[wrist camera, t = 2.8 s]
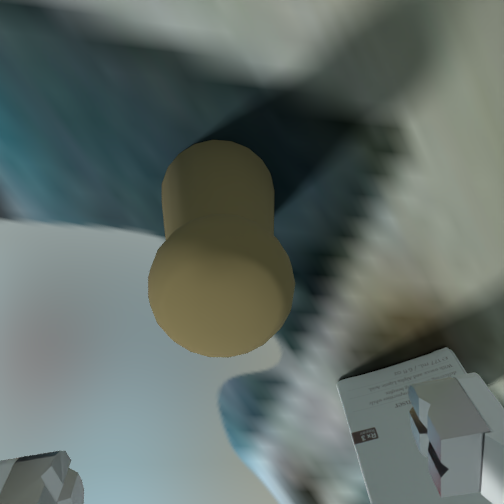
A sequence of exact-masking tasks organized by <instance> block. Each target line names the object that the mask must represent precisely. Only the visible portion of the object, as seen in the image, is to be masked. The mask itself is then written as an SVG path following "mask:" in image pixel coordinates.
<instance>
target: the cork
mask: <svg viewBox="0 0 504 504" xmlns="http://www.w3.org/2000/svg"><path fill="white" fill-rule="evenodd" d="M162 208H163V217H164V227H165V237H166V241H165V242H164V243H163V244H162V246H161V247H160V248H159V249H158V251H157V253H156V256H155V259H154V261H153V264H152V266H151V269H150V273H149V277H148V295H149V296H148V297H149V302H150V306H151V308H152V311H153V313H154V316H155V318H156V321H157V323H158V325H159V326H160V327H161V328H162V329H163V330H164V331H165V332H166V334H167V335H168V336H169V337H170V338H171V339H172V340H173V341H174V342H176V343H177V344H179V345H181V346H182V347H184V348H186V349H187V350H189V351H190V352H194V353H197V354H201V355H204V356H208V357H232V356H236V355H241V354H245V353H248V352H250V351H252V350H254V349H256V348H258V347H260V346H262V345H264V344H265V343H266V342H267V341H268V340H269V339H270V338H271V337H272V336H273V335H274V334H275V333H276V332H277V331H278V330H279V329H280V328H281V327H282V326H283V324H284V322H285V320H286V318H287V316H288V315H289V313H290V311H291V306H292V300H293V294H294V287H295V281H294V276H293V271H292V267H291V263H290V260H289V257H288V255H287V254H286V252H285V250H284V249H283V247H282V246H281V244H280V243H279V241H278V239H277V238H276V237H274V186H273V182H272V177H271V174H270V172H269V170H268V169H267V167H266V165H265V164H264V162H263V160H262V159H261V158H259V157H258V156H257V155H256V154H255V153H254V152H252V151H251V150H250V149H249V148H247V147H245V146H242V145H240V144H237V143H235V142H232V141H223V140H209V141H205V142H201V143H197V144H194V145H192V146H191V147H189V148H188V149H186V150H184V151H183V152H181V153H180V154H178V156H177V157H176V158H175V159H174V161H173V162H172V163H171V164H170V166H169V167H168V168H167V171H166V174H165V177H164V180H163V182H162Z"/></svg>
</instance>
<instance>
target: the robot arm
mask: <svg viewBox="0 0 504 504" xmlns="http://www.w3.org/2000/svg"><path fill="white" fill-rule="evenodd" d="M408 395H409V399H410V401H411V403H412V406H413V407H412V408H411V410H410V411H409V416H410V424H411V429H412V433H413V436H414V439H415V442H416V445H417V447H418V449H419V451H420V453H421V454H422V455H424V456H425V457H427V458H428V471H429V473H430V475H431V477H432V480H433V482H434V484H435V486H436V488H437V490H438V492H439V494H440V497H441V498H444V497H450V496H457V495H464V494H470V493H477V492H481V495H483V496H484V497H485V498H486V499H488V500H489V501H490V502H491V503H492V504H504V408H503V407H502V405H501V404H500V403H499V401H498V400H497V399H496V397H495V396H494V394H493V393H492V392H491V390H490V389H489V388H488V386H487V385H486V384H485V382H484V381H483V379H482V378H481V377H480V375H478V374H477V373H475V372H473V373H468V374H463V375H458V376H453V377H447V378H442V379H437V380H432V381H427V382H422V383H417V384H412V385H409V389H408ZM70 462H71V459H70V458H69V456H68V455H67V453H66V451H56V452H49V453H43V454H37V455H31V456H24V457H20V458H14V459H8V460H2V461H0V504H83V503H84V488H83V484H82V480H81V478H80V476H79V474H78V473H77V472H75V471H74V470H72V469H70V468H69V465H70Z"/></svg>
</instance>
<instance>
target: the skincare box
mask: <svg viewBox="0 0 504 504" xmlns="http://www.w3.org/2000/svg"><path fill="white" fill-rule="evenodd" d="M463 374H467V372H466V371H465V369H464V368H463V366H462V365H461V363H460V362H459V360H458V358H457V357H456V355H455V354H454V352H453V351H452V350H450V349H448V347H445V348H443V349H440V350H436V351H434V352H432V353H430V354H427V355H424V356H421V357H418V358H415V359H412V360H409V361H406V362H403V363H400V364H397V365H394V366H390V367H387V368H384V369H381V370H377V371H374V372H370V373H367V374H363V375H359V376H355V377H351V378H347V379H343V380H340V381H339V382H338V383H337V384H336V385H337V389H338V393H339V396H340V399H341V402H342V406H343V409H344V413H345V416H346V419H347V423H348V426H349V430H350V433H351V437H352V440H353V444H354V447H355V450H356V454H357V457H358V461H359V464H360V468H361V471H362V474H363V478H364V481H365V485H366V488H367V492H368V496H369V499H370V502H371V504H492V503H491V502H490V501H489V500H488V499H486V498H485V497H484V496H483V495H481V492H477V493H470V494H464V495H457V496H450V497H444V498H441V497H440V494H439V492H438V490H437V488H436V486H435V484H434V482H433V480H432V477H431V475H430V473H429V471H428V458H427V457H425V456H424V455H422V454H421V453H420V451H419V449H418V447H417V445H416V442H415V439H414V436H413V433H412V429H411V424H410V416H409V411H410V410H411V408H412V407H413V406H412V403H411V401H410V399H409V395H408V389H409V385H412V384H417V383H422V382H427V381H432V380H437V379H442V378H447V377H453V376H458V375H463Z"/></svg>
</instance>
